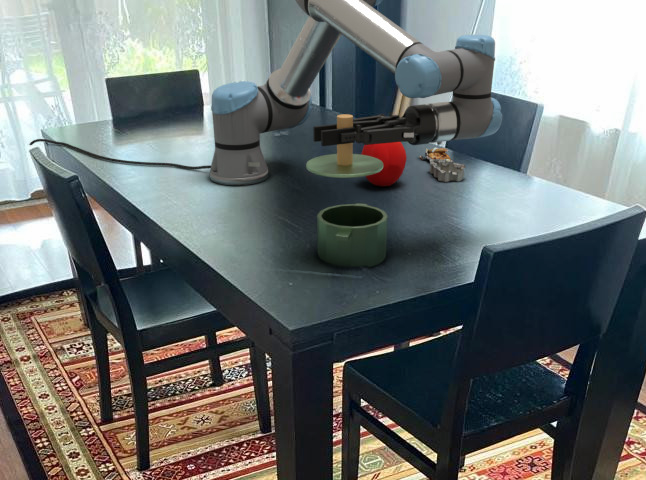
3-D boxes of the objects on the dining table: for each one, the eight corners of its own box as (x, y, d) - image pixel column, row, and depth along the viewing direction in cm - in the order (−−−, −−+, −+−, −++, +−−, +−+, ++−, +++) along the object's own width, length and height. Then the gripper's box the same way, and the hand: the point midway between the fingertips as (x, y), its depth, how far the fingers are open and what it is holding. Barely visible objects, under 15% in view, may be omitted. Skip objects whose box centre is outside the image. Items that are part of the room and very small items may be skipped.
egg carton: (465, 181, 197) (467, 166, 195) (437, 182, 196) (438, 167, 194) (454, 169, 206) (455, 154, 204) (427, 170, 206) (428, 155, 204)
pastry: (440, 169, 207) (441, 156, 205) (417, 158, 216) (418, 145, 215) (462, 166, 209) (463, 153, 208) (439, 155, 219) (440, 143, 217)
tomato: (353, 189, 192) (353, 136, 186) (369, 175, 202) (370, 125, 196) (397, 194, 188) (399, 140, 182) (411, 180, 198) (413, 129, 192)
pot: (307, 271, 147) (306, 229, 143) (329, 236, 163) (329, 198, 159) (376, 277, 144) (377, 235, 140) (392, 241, 160) (394, 202, 156)
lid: (297, 178, 142) (296, 123, 137) (316, 157, 155) (316, 106, 150) (375, 183, 139) (377, 126, 134) (388, 161, 152) (390, 109, 147)
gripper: (448, 152, 145) (335, 167, 137) (407, 134, 158) (302, 146, 150) (450, 112, 142) (335, 124, 133) (409, 96, 154) (301, 107, 146)
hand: (318, 136), depth 142 cm, fingers closed on lid, 3 cm apart
